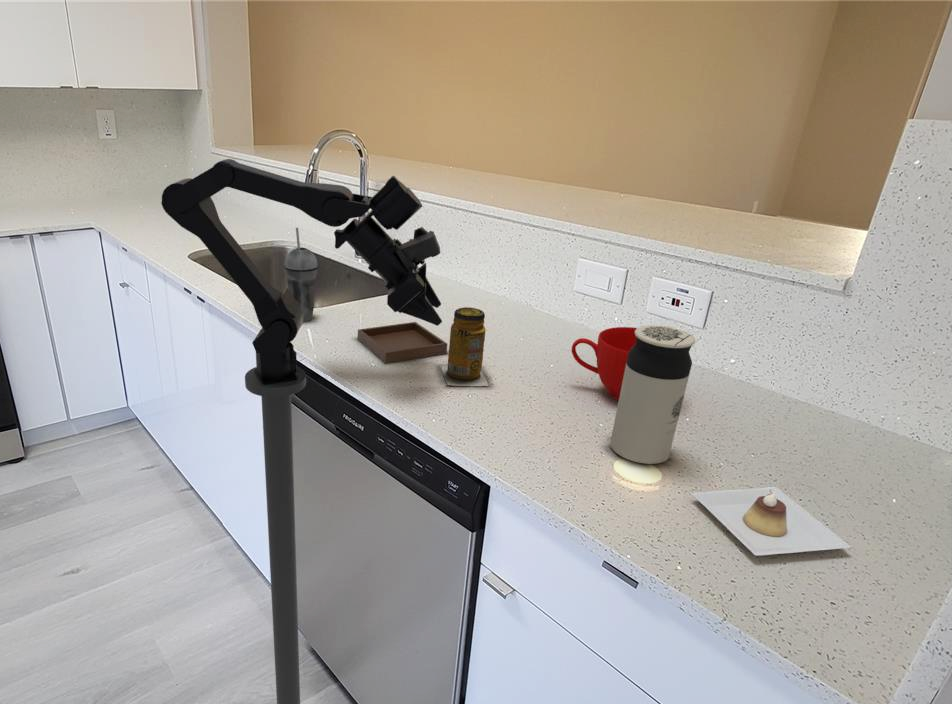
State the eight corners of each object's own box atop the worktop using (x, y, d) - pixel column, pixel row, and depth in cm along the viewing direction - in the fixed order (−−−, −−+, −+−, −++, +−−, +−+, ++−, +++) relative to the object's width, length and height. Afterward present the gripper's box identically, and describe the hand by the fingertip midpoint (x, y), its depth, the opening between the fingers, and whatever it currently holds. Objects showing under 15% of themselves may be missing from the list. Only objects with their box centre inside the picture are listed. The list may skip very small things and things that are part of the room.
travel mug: (598, 447, 94) (621, 331, 87) (629, 431, 98) (653, 320, 91) (649, 472, 88) (677, 350, 81) (679, 454, 93) (709, 337, 85)
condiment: (479, 367, 120) (485, 305, 115) (488, 386, 112) (495, 321, 107) (440, 366, 119) (444, 305, 114) (446, 386, 112) (452, 321, 107)
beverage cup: (325, 317, 143) (325, 226, 135) (305, 326, 137) (303, 232, 129) (299, 310, 146) (297, 222, 138) (278, 319, 141) (275, 227, 133)
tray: (385, 363, 120) (385, 352, 119) (357, 339, 131) (357, 329, 130) (446, 353, 125) (447, 343, 124) (414, 331, 136) (415, 321, 135)
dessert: (773, 493, 84) (784, 462, 82) (848, 555, 73) (862, 520, 71) (688, 499, 82) (697, 467, 80) (752, 563, 72) (764, 528, 70)
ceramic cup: (569, 370, 119) (577, 319, 115) (668, 386, 114) (680, 333, 109) (562, 399, 108) (570, 344, 104) (671, 419, 102) (685, 361, 98)
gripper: (411, 227, 96) (479, 301, 100) (414, 205, 113) (472, 269, 117) (358, 276, 100) (426, 345, 104) (368, 248, 117) (426, 308, 121)
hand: (439, 314), depth 111 cm, fingers open, 9 cm apart
